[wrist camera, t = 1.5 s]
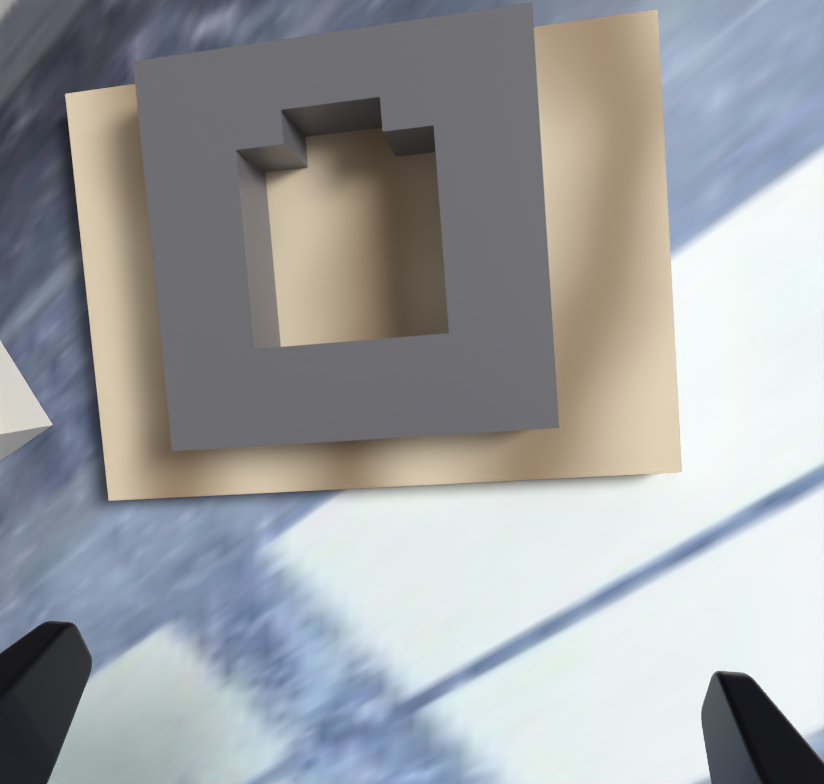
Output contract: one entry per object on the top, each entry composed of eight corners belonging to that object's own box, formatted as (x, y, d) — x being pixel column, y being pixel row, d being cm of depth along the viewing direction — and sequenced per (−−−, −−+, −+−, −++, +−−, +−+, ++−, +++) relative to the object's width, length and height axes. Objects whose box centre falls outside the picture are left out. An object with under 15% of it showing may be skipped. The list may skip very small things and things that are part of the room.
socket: (207, 439, 23) (172, 451, 20) (173, 93, 22) (133, 61, 20) (551, 418, 21) (559, 428, 19) (527, 44, 20) (532, 2, 18)
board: (127, 493, 25) (108, 500, 23) (86, 106, 24) (65, 93, 23) (671, 465, 22) (681, 472, 21) (648, 28, 21) (657, 9, 20)
